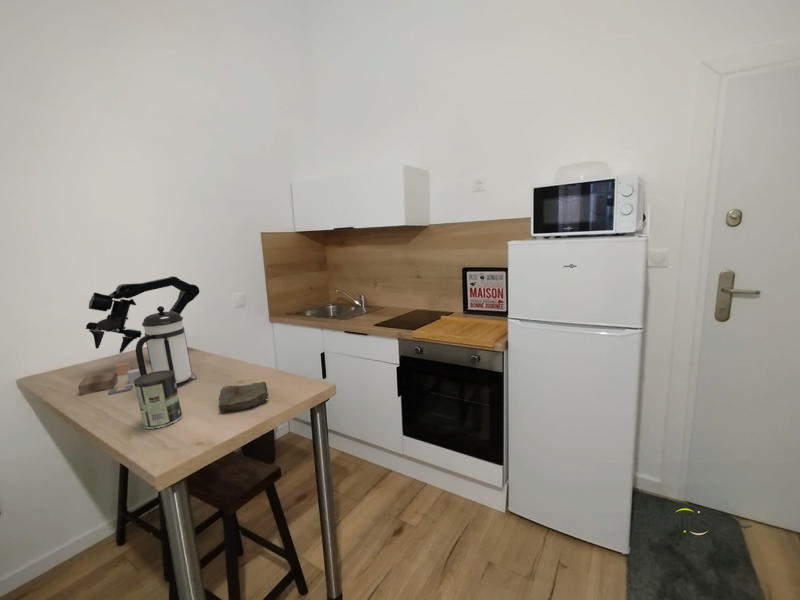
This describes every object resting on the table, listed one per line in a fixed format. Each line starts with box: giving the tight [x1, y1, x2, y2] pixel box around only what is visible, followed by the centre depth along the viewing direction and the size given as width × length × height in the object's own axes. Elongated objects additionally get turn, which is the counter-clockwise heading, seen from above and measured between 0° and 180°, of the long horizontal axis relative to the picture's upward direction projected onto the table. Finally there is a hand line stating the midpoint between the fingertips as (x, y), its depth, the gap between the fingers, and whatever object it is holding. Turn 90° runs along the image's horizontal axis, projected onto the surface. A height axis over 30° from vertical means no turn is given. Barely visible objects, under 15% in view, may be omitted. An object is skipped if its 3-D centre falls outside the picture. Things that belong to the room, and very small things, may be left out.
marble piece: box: [218, 381, 269, 413], centre depth 124 cm, size 17×15×4 cm
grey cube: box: [126, 368, 141, 385], centre depth 150 cm, size 4×4×4 cm
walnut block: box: [77, 371, 119, 396], centre depth 145 cm, size 10×10×4 cm
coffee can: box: [133, 370, 183, 430], centre depth 113 cm, size 10×10×14 cm
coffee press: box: [135, 305, 197, 386], centre depth 140 cm, size 17×16×30 cm
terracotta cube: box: [115, 360, 133, 377], centre depth 160 cm, size 4×4×4 cm
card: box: [107, 384, 134, 396], centre depth 141 cm, size 7×5×1 cm
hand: (108, 350), depth 158 cm, fingers open, 9 cm apart
